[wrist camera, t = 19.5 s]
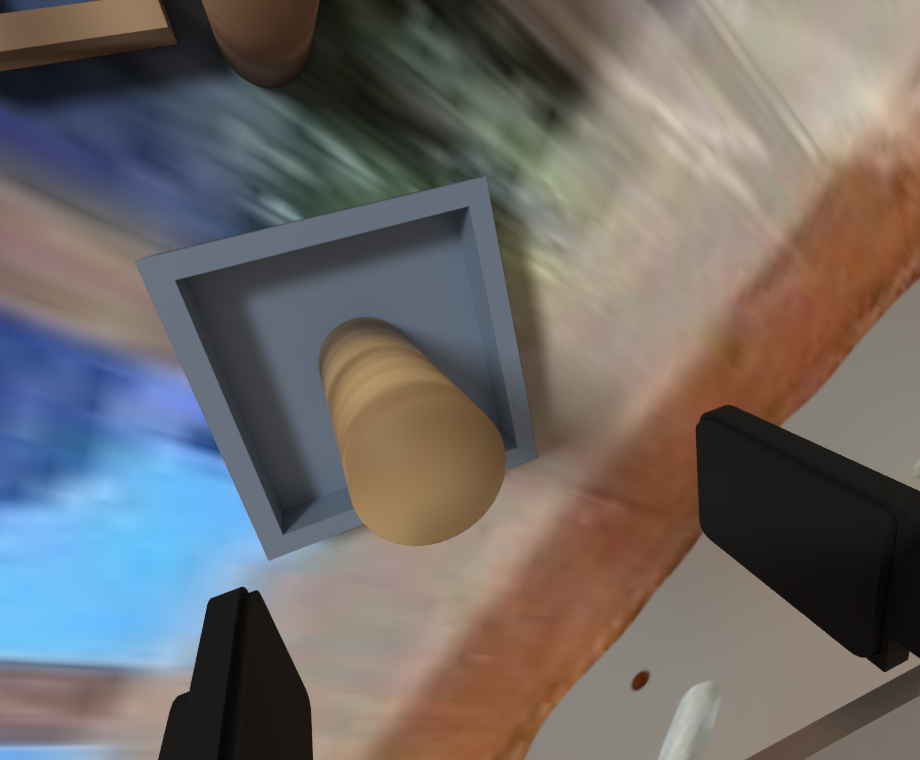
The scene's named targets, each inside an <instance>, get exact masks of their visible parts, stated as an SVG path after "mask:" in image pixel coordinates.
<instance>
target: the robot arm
mask: <svg viewBox="0 0 920 760" xmlns="http://www.w3.org/2000/svg"><path fill="white" fill-rule="evenodd" d="M696 448H697V472H698V496H699V519H700V526H701V528H702V530H703V532H704V534H705V535H706V536H707V537H708V538H709V539H710V540H711V541H712V542H714V543H715V544H716V545H717V546H719V547H720V548H721V549H722V550H724V551H725V552H726V553H727V554H729V555H730V556H731V557H732V558H734V559H735V560H736V561H737V562H739V563H740V564H741V565H742V566H744V567H745V568H746V569H747V570H749V571H750V572H751V573H752V574H754V575H755V576H756V577H757V578H759V579H760V580H761V581H762V582H764V583H765V584H766V585H767V586H769V587H770V588H771V589H772V590H774V591H775V592H776V593H778V594H779V595H780V596H781V597H782V598H784V599H785V600H786V601H787V602H789V603H790V604H791V605H792V606H794V607H795V608H796V609H797V610H799V611H800V612H801V613H802V614H804V615H805V616H806V617H808V618H809V619H810V620H811V621H812V622H814V623H815V624H816V625H817V626H819V627H820V628H821V629H822V630H824V631H825V632H826V633H827V634H829V635H830V636H831V637H832V638H833V639H835V640H836V641H837V642H839V643H840V644H841V645H842V646H843V647H845V648H846V649H847V650H848V651H850V652H851V653H853V654H854V655H856V656H858V657H864V658H865V657H866V658H867V659H868V660H869V661H871V662H872V663H873V664H874V665H876V666H877V667H878V668H880V669H881V670H882V671H883V672H886V671H888V670H890V669H891V668H894V667H895V666H897V665H899V664H901V663H903V662H904V661H906V660H908V657H909V651H910V652H912V653H913V654H914V655H916V656H917V657H919V658H920V491H918V490H916V489H914V488H912V487H909V486H907V485H905V484H903V483H901V482H898V481H896V480H894V479H892V478H890V477H888V476H885V475H883V474H881V473H879V472H876V471H874V470H872V469H870V468H868V467H865V466H863V465H861V464H859V463H857V462H855V461H853V460H850V459H848V458H846V457H844V456H842V455H839V454H837V453H835V452H833V451H831V450H828V449H826V448H824V447H822V446H820V445H817V444H815V443H813V442H811V441H809V440H807V439H804V438H802V437H800V436H798V435H796V434H793V433H791V432H789V431H787V430H785V429H782V428H780V427H778V426H776V425H774V424H772V423H769V422H767V421H765V420H763V419H761V418H758V417H756V416H754V415H752V414H750V413H747V412H745V411H743V410H741V409H739V408H737V407H734V406H731V405H725V406H722V407H720V408H717V409H714V410H712V411H709V412H706V413H704V414H703V415H702V416H701V418H700V422H699V423H698V424H697V426H696ZM158 760H313V747H312V722H311V707H310V701H309V697H308V694H307V691H306V688H305V686H304V684H303V682H302V680H301V678H300V676H299V674H298V672H297V670H296V667H295V665H294V663H293V661H292V659H291V657H290V655H289V653H288V651H287V649H286V646H285V644H284V642H283V640H282V638H281V636H280V634H279V632H278V630H277V628H276V625H275V623H274V621H273V619H272V617H271V615H270V613H269V611H268V609H267V606H266V604H265V602H264V600H263V598H262V596H261V594H260V593H259V591H257V590H255V591H253V592H250V593H249V592H248V591H247V589H246V588H245V587H240V588H237V589H235V590H232V591H229V592H227V593H224V594H221V595H219V596H216V597H213V598H211V599H210V600H209V602H208V605H207V609H206V614H205V619H204V624H203V628H202V633H201V638H200V643H199V648H198V652H197V657H196V662H195V667H194V672H193V676H192V681H191V686H190V691H189V692H186V693H184V694H182V695H179V696H177V698H176V699H175V700H174V701H173V704H172V706H171V709H170V712H169V717H168V721H167V725H166V729H165V733H164V738H163V742H162V746H161V750H160V754H159V758H158ZM746 760H920V665H919V666H917V667H915V668H913V669H911V670H909V671H907V672H906V673H904V674H902V675H900V676H898V677H896V678H895V679H893V680H891V681H889V682H887V683H885V684H883V685H882V686H880V687H878V688H876V689H874V690H872V691H871V692H869V693H867V694H865V695H863V696H861V697H859V698H858V699H856V700H854V701H852V702H850V703H848V704H847V705H845V706H843V707H841V708H839V709H837V710H835V711H834V712H832V713H830V714H828V715H826V716H824V717H823V718H821V719H819V720H817V721H815V722H813V723H812V724H810V725H808V726H806V727H804V728H803V729H801V730H799V731H797V732H795V733H793V734H791V735H790V736H788V737H786V738H784V739H782V740H780V741H779V742H777V743H775V744H773V745H771V746H769V747H768V748H766V749H764V750H762V751H760V752H758V753H757V754H755V755H753V756H751V757H750V758H748V759H746Z"/></svg>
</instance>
